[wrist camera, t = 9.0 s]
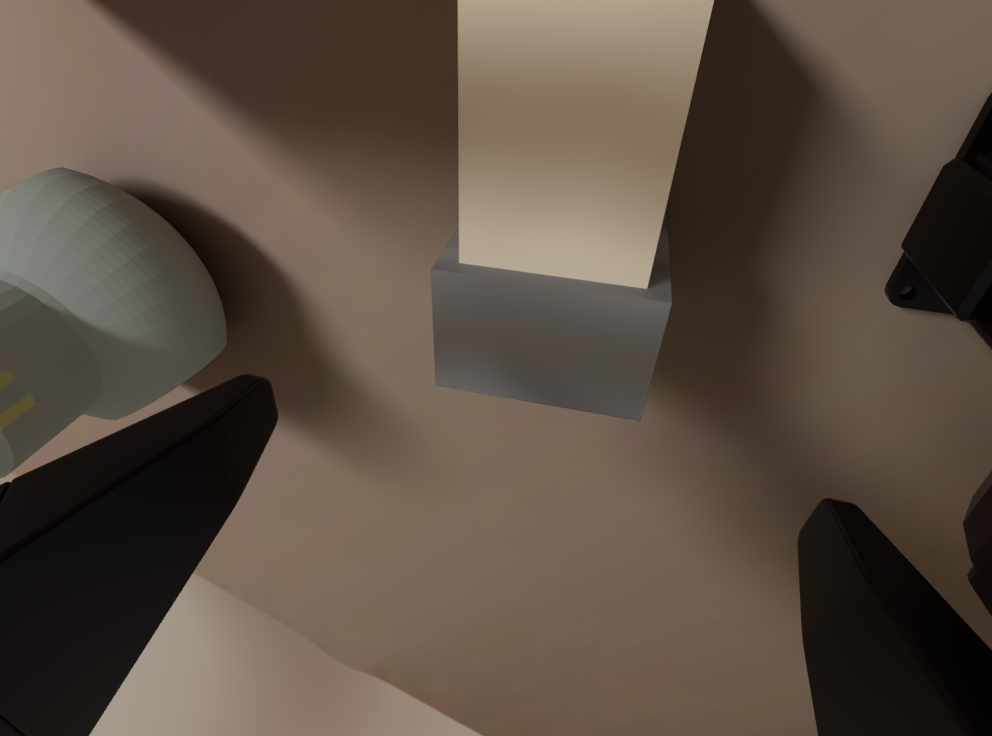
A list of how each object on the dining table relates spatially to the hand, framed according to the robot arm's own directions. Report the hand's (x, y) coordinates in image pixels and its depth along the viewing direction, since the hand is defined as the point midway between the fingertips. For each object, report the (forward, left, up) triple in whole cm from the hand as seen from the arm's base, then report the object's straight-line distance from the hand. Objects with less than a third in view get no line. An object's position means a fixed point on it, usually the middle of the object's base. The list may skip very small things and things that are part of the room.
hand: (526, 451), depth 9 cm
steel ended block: (0, -2, -12) cm, 12 cm away
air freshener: (+19, +6, -12) cm, 23 cm away
